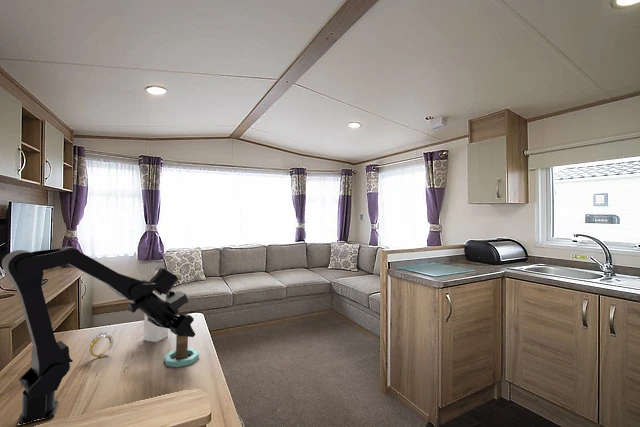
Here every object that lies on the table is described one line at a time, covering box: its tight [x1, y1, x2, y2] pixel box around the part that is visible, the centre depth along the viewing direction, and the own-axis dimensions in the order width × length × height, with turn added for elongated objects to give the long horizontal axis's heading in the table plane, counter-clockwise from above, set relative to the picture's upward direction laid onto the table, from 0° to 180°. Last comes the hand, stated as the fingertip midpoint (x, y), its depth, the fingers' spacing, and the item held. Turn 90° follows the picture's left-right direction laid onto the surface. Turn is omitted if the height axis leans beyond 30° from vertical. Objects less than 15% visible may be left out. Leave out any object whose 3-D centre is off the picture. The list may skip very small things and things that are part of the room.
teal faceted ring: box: [163, 347, 200, 368], centre depth 102 cm, size 10×10×2 cm
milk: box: [143, 291, 169, 343], centre depth 118 cm, size 6×6×22 cm
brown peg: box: [175, 335, 189, 360], centre depth 102 cm, size 4×4×14 cm
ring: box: [88, 331, 114, 358], centre depth 102 cm, size 7×3×8 cm, turn 145°
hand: (186, 332), depth 103 cm, fingers open, 9 cm apart
